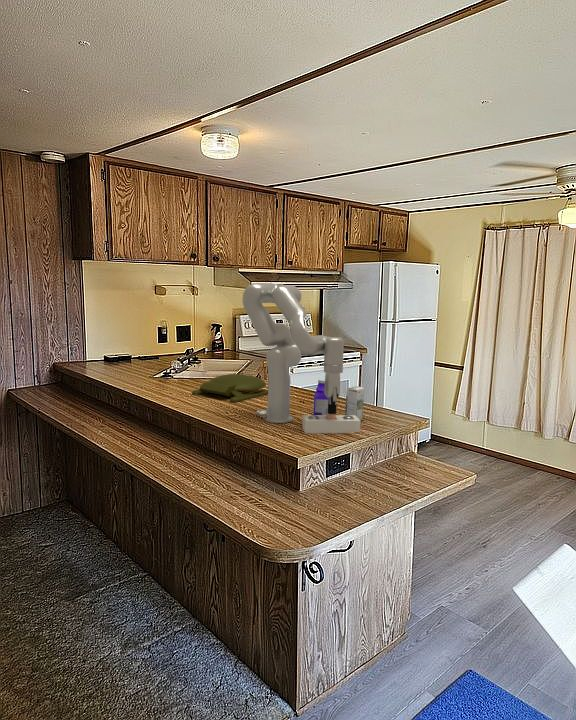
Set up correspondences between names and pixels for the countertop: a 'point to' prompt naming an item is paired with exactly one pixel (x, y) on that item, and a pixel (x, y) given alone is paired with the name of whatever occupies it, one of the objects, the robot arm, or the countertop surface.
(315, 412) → the bottle
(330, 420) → the block
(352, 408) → the syrup box
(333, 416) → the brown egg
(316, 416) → the left grey plug
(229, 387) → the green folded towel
